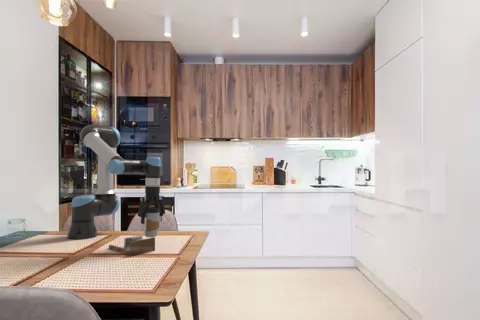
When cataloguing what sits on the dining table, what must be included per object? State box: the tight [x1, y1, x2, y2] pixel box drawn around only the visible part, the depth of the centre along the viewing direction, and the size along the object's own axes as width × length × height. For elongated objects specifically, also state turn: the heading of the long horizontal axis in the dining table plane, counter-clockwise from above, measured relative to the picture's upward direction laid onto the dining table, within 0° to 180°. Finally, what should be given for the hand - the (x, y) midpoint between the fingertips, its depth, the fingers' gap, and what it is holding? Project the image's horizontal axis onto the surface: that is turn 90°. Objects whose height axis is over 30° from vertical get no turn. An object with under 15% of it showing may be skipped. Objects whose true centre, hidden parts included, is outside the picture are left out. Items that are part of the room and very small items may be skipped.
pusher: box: [123, 235, 143, 250], centre depth 153 cm, size 4×9×6 cm, turn 140°
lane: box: [108, 237, 156, 256], centre depth 155 cm, size 20×12×6 cm, turn 51°
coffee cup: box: [144, 206, 160, 238], centre depth 170 cm, size 8×8×15 cm
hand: (151, 228), depth 170 cm, fingers closed on coffee cup, 8 cm apart
